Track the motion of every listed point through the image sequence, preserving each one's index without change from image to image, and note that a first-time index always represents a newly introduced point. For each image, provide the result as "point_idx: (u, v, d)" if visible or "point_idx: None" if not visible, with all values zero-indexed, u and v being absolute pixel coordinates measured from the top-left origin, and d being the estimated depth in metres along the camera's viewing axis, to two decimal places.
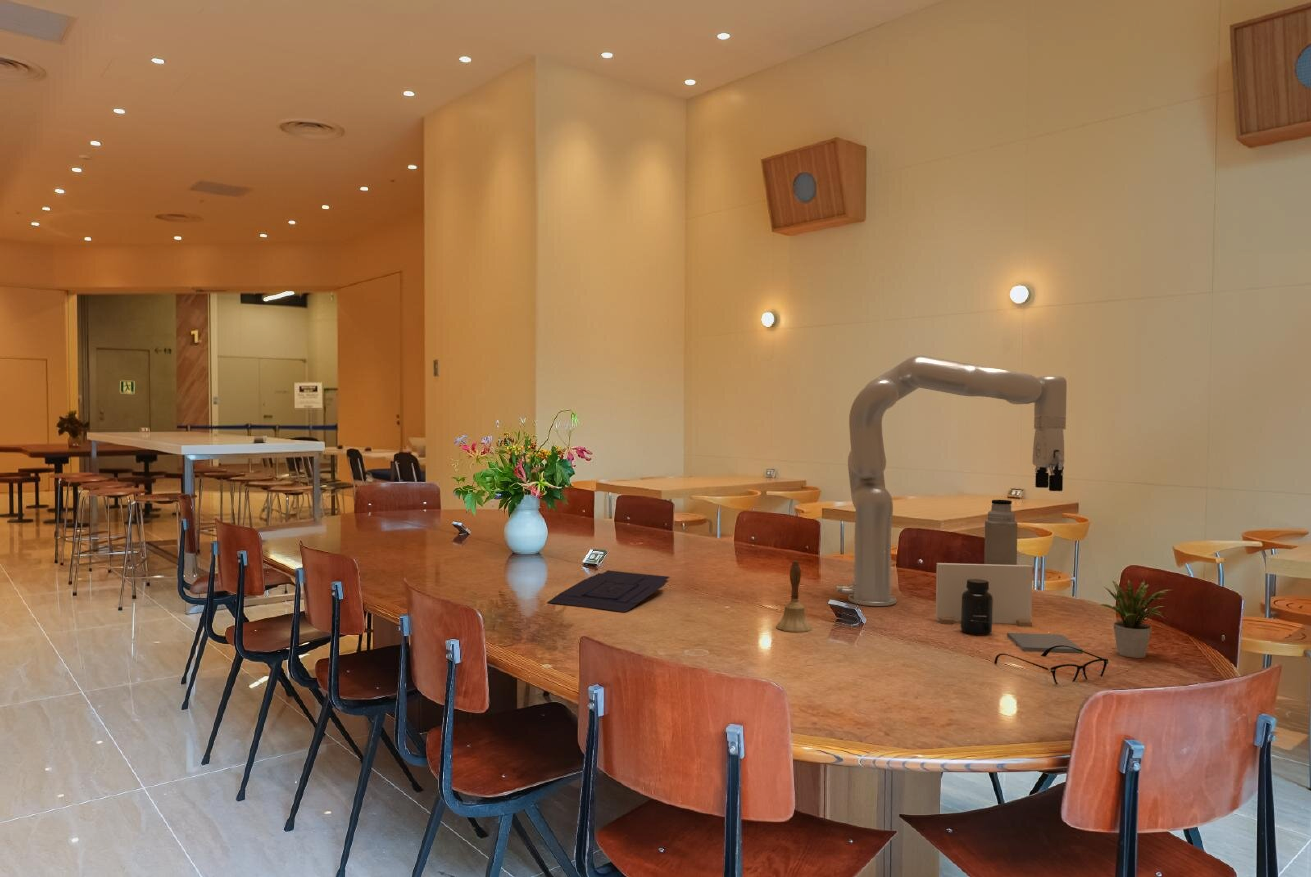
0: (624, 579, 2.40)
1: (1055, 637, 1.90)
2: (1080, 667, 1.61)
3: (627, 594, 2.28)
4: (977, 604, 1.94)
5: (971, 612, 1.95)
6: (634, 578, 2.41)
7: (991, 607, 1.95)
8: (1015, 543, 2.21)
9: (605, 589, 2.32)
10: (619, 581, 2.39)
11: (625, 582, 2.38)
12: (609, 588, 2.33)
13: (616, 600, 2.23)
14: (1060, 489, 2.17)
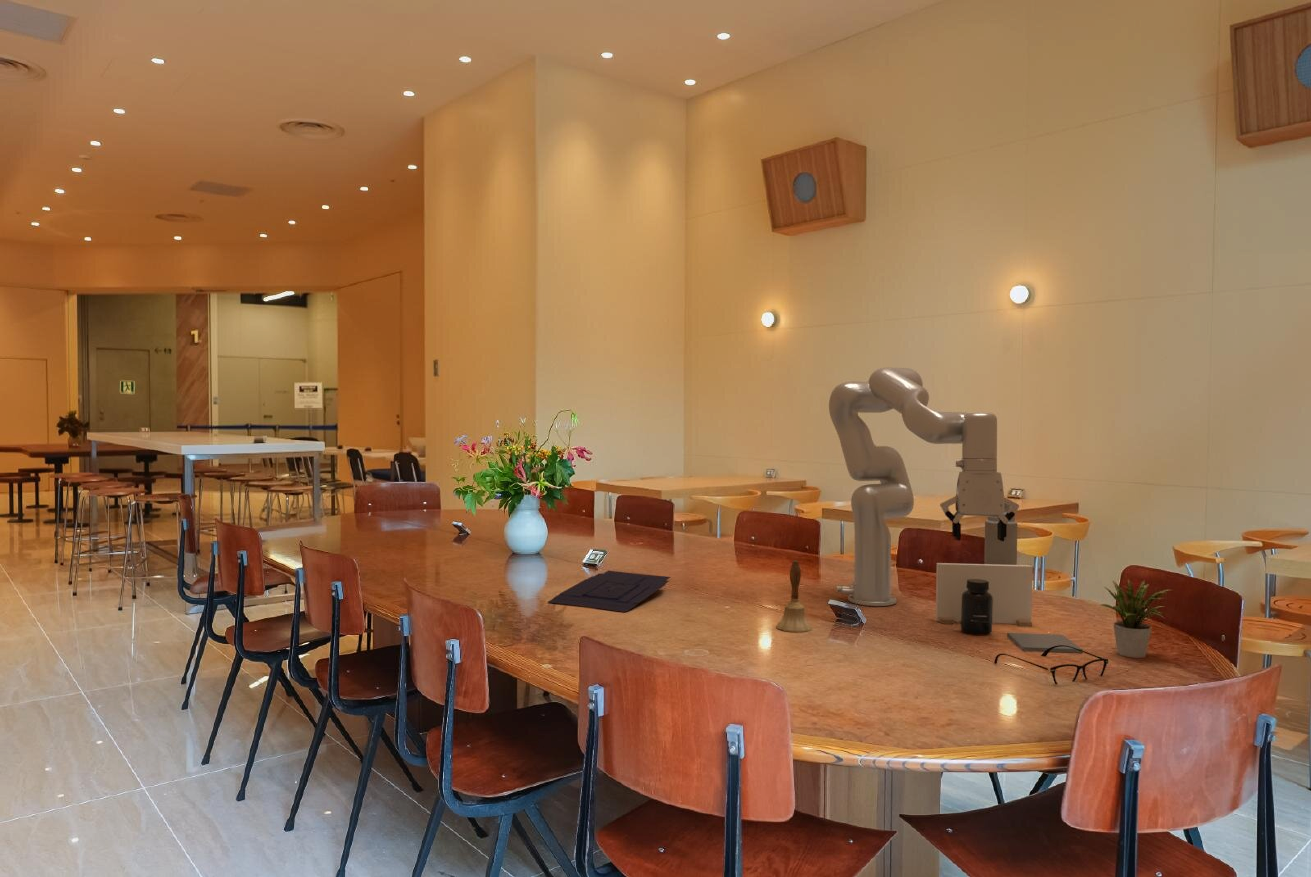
0: (625, 579, 2.41)
1: (1055, 637, 1.90)
2: (1080, 667, 1.61)
3: (627, 594, 2.28)
4: (977, 604, 1.94)
5: (971, 612, 1.95)
6: (635, 578, 2.41)
7: (991, 607, 1.95)
8: (1015, 543, 2.21)
9: (605, 589, 2.33)
10: (620, 581, 2.39)
11: (626, 582, 2.38)
12: (609, 588, 2.33)
13: (616, 600, 2.23)
14: None
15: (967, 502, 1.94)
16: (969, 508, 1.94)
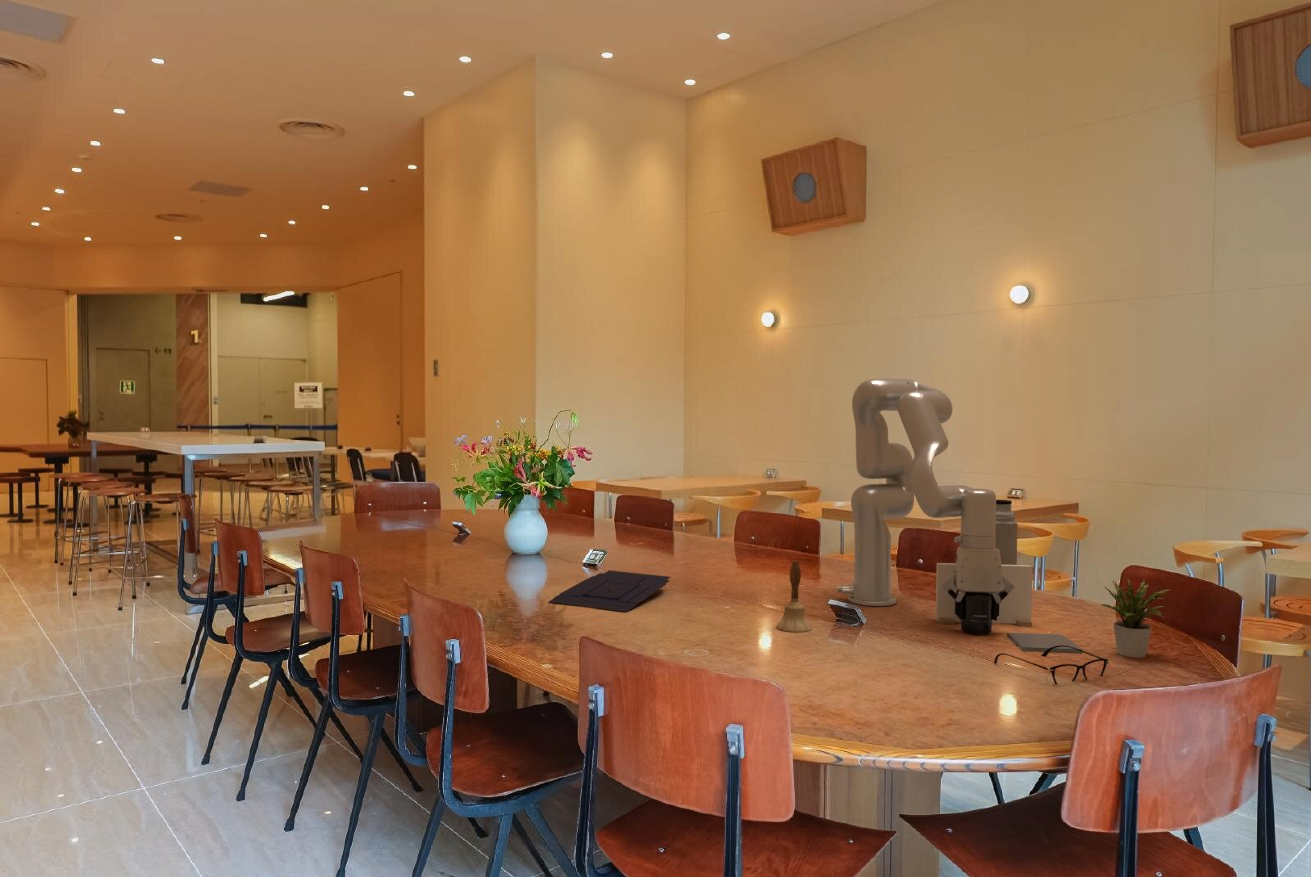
0: (625, 579, 2.41)
1: (1055, 637, 1.90)
2: (1080, 667, 1.61)
3: (628, 593, 2.28)
4: (977, 604, 1.94)
5: (971, 612, 1.95)
6: (635, 578, 2.41)
7: (991, 607, 1.95)
8: (1015, 543, 2.21)
9: (606, 589, 2.33)
10: (620, 581, 2.39)
11: (626, 582, 2.38)
12: (610, 588, 2.33)
13: (617, 600, 2.24)
14: None
15: (965, 579, 1.95)
16: (967, 585, 1.95)
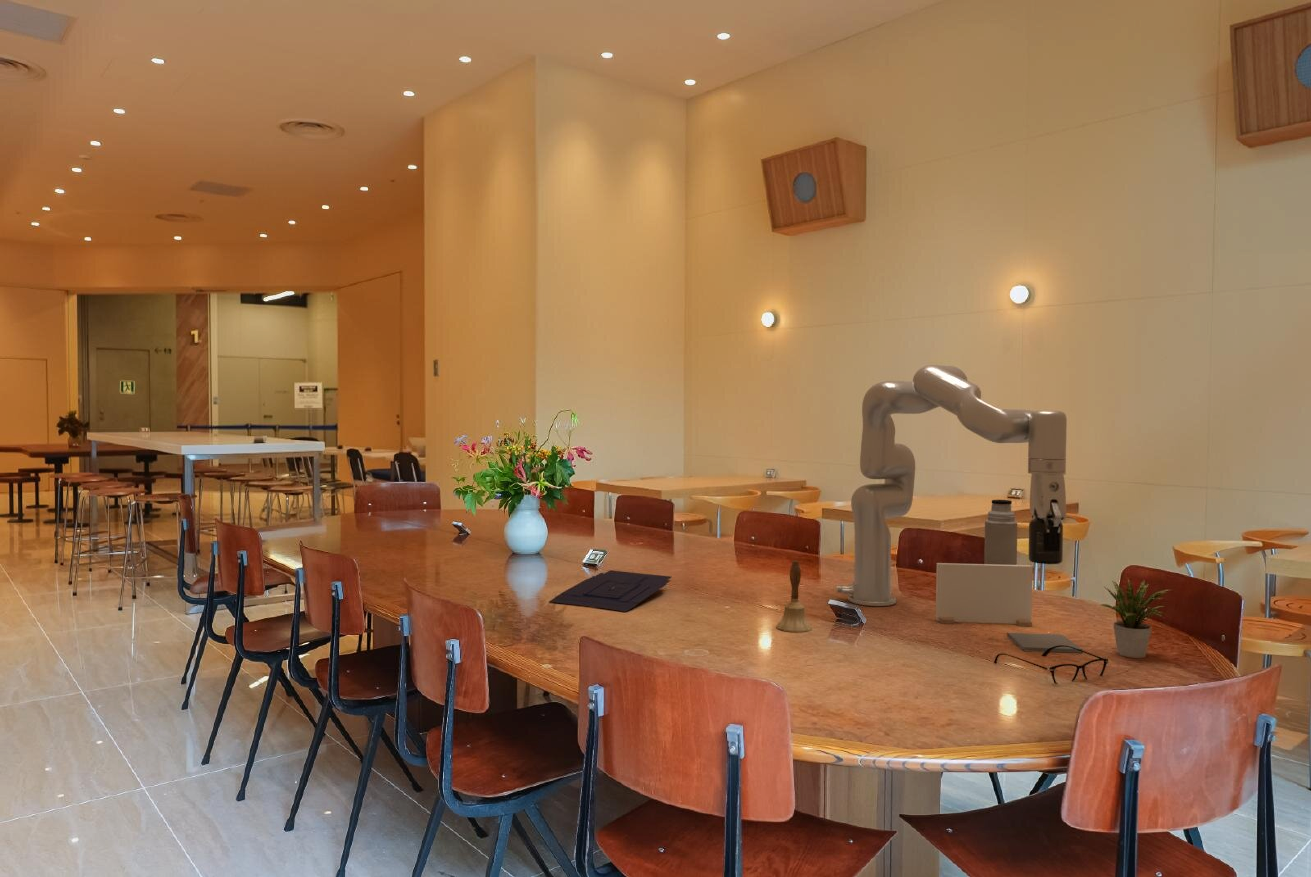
0: (626, 579, 2.41)
1: (1055, 637, 1.90)
2: (1079, 667, 1.61)
3: (628, 593, 2.28)
4: None
5: (1062, 540, 1.84)
6: (636, 578, 2.41)
7: None
8: (1015, 543, 2.21)
9: (606, 588, 2.33)
10: (621, 581, 2.39)
11: (627, 582, 2.38)
12: (611, 588, 2.33)
13: (617, 599, 2.24)
14: None
15: None
16: None
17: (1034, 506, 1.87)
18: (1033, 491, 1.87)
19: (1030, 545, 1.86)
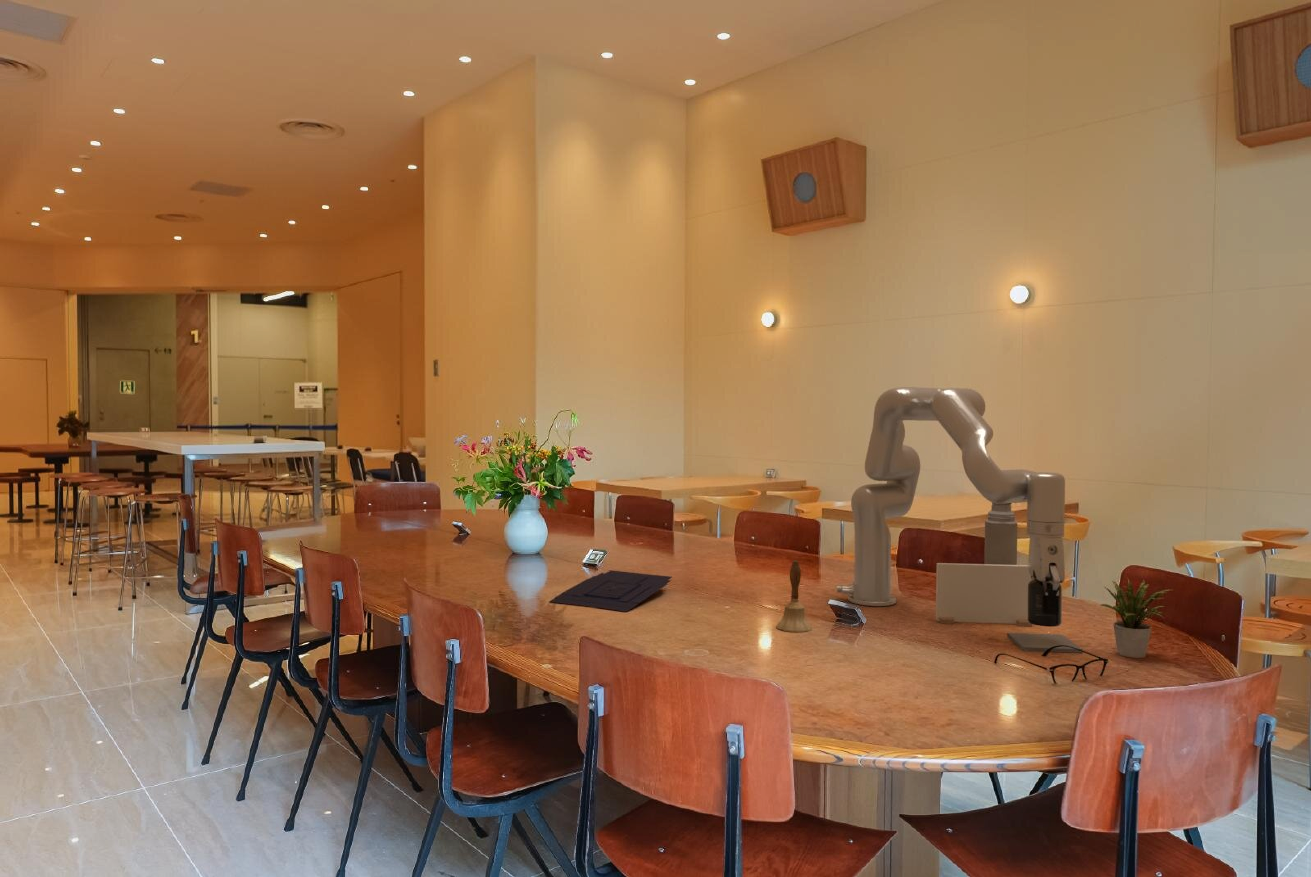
0: (626, 579, 2.41)
1: (1055, 637, 1.90)
2: (1079, 667, 1.62)
3: (629, 593, 2.29)
4: (1061, 592, 1.85)
5: (1061, 602, 1.85)
6: (636, 578, 2.42)
7: None
8: (1015, 543, 2.21)
9: (607, 589, 2.33)
10: (621, 581, 2.40)
11: (627, 582, 2.38)
12: (611, 588, 2.33)
13: (618, 600, 2.24)
14: None
15: None
16: None
17: (1033, 567, 1.87)
18: (1032, 552, 1.87)
19: (1029, 607, 1.87)
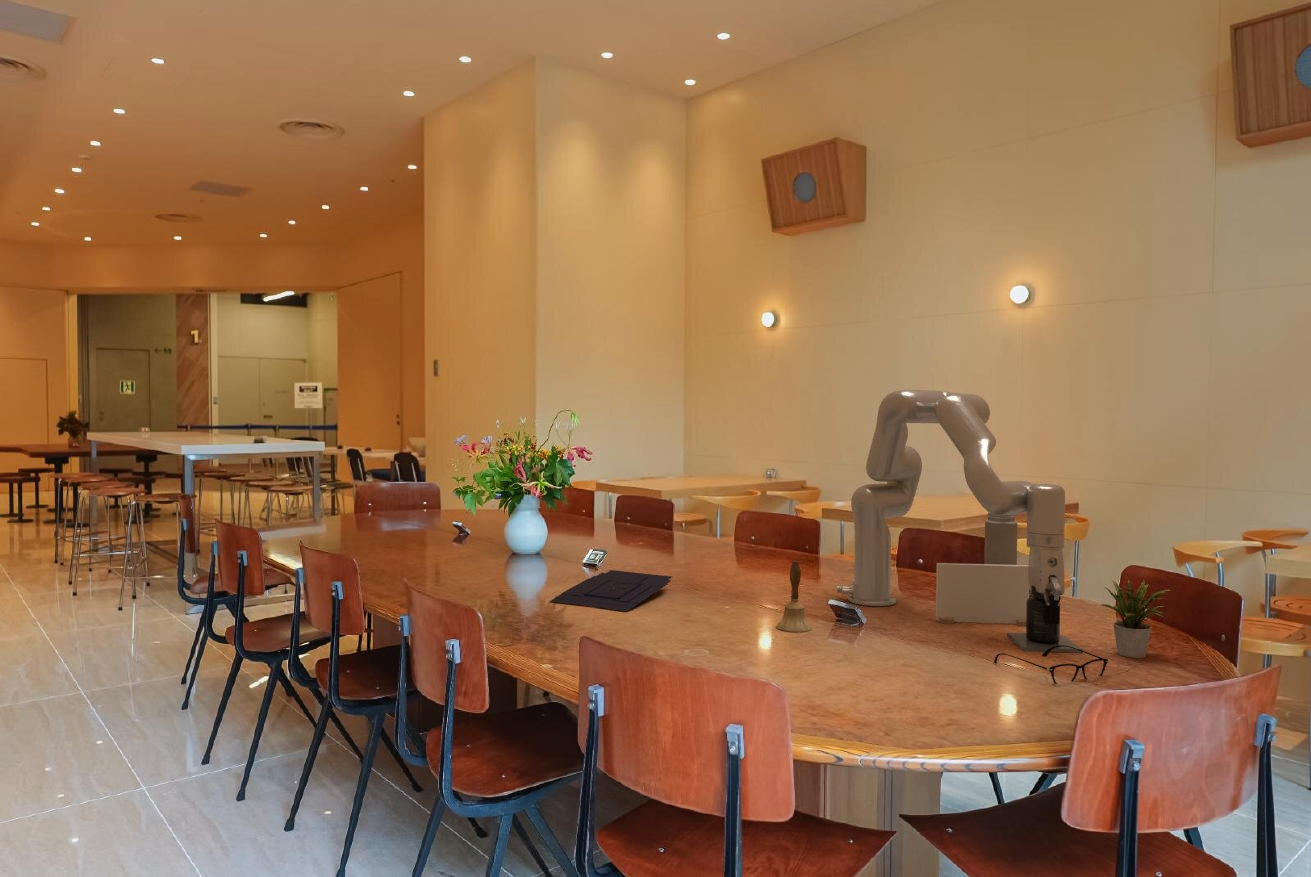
0: (627, 579, 2.41)
1: None
2: (1079, 667, 1.62)
3: (629, 593, 2.29)
4: None
5: None
6: (637, 578, 2.42)
7: None
8: (1015, 543, 2.21)
9: (607, 588, 2.33)
10: (622, 581, 2.40)
11: (628, 582, 2.38)
12: (611, 587, 2.34)
13: (618, 599, 2.24)
14: None
15: None
16: None
17: (1033, 579, 1.87)
18: (1032, 564, 1.87)
19: (1027, 623, 1.87)
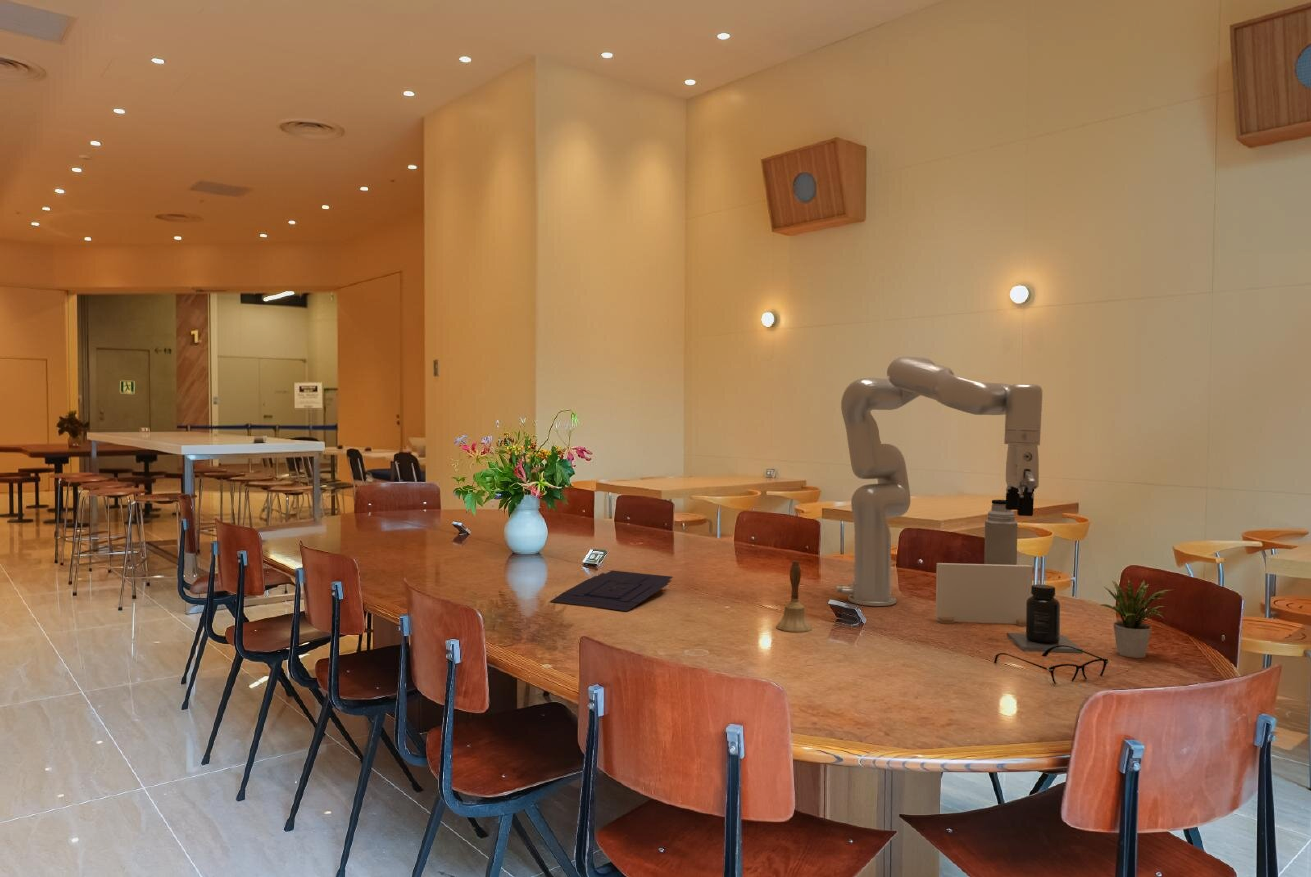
0: (627, 579, 2.41)
1: None
2: (1079, 667, 1.62)
3: (629, 593, 2.29)
4: None
5: (1059, 619, 1.85)
6: (637, 578, 2.42)
7: None
8: (1015, 543, 2.21)
9: (608, 588, 2.33)
10: (622, 581, 2.40)
11: (628, 582, 2.39)
12: (612, 588, 2.34)
13: (618, 599, 2.24)
14: None
15: None
16: None
17: (1009, 475, 1.95)
18: (1009, 461, 1.95)
19: (1027, 623, 1.87)
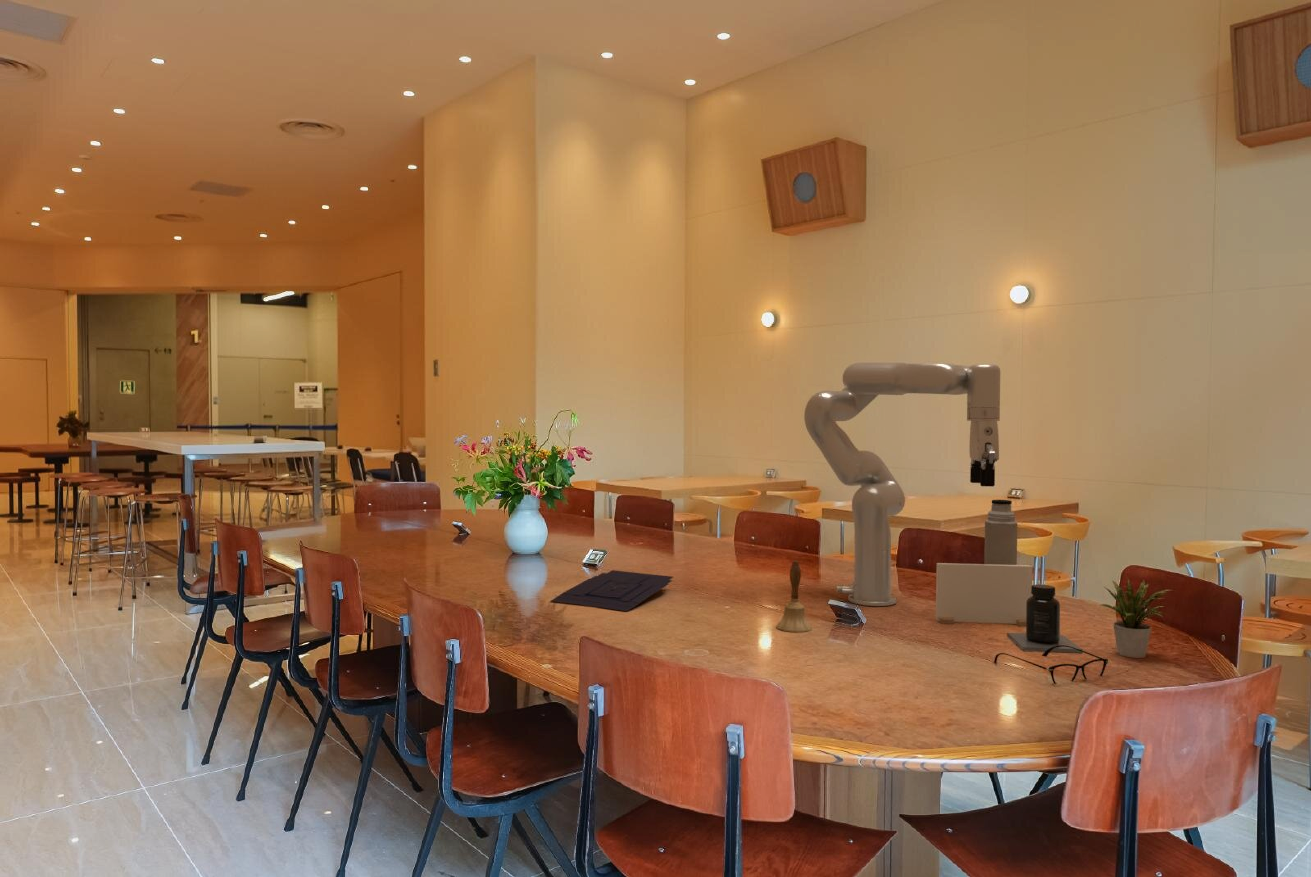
0: (628, 579, 2.41)
1: None
2: (1079, 667, 1.62)
3: (630, 593, 2.29)
4: None
5: (1059, 619, 1.85)
6: (638, 578, 2.42)
7: None
8: (1015, 543, 2.21)
9: (608, 588, 2.34)
10: (623, 581, 2.40)
11: (628, 582, 2.39)
12: (612, 587, 2.34)
13: (619, 599, 2.24)
14: None
15: None
16: None
17: (972, 450, 2.09)
18: (971, 437, 2.09)
19: (1027, 623, 1.87)
